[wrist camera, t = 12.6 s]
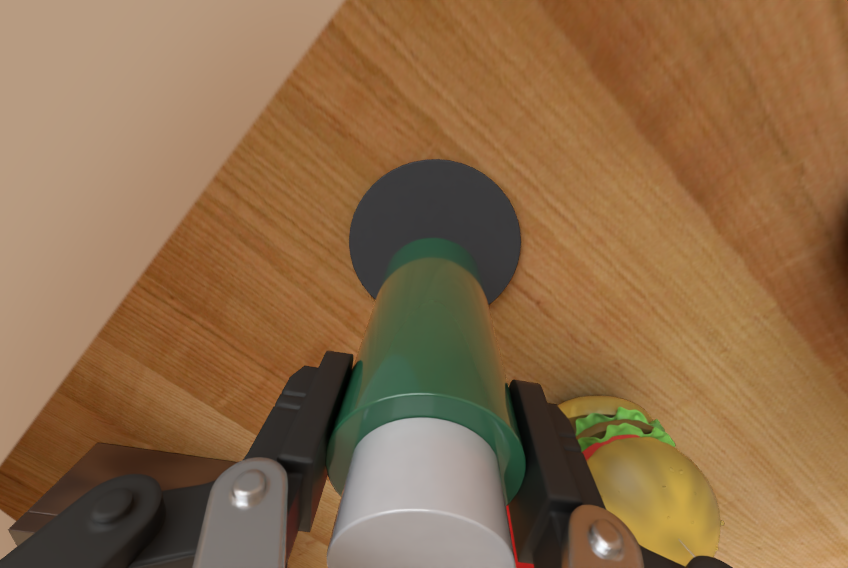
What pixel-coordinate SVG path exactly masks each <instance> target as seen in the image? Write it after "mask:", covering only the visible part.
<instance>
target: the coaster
mask: <svg viewBox="0 0 848 568" xmlns="http://www.w3.org/2000/svg"><path fill="white" fill-rule="evenodd" d="M425 238H441V239H445V240H449V241H452V242H454V243H456V244H458V245H460V246H461V247H463V248H464V249H466V250H467V251H468V252H469V253H470V254H471V255H472V257H473V258H474V259H475V261H476V263H477V265H478V267H479V269H480V273H481V277H482V281H483V285H484V289H485V293H486V297H487V301H488V305H489V304H490V303H491V302H493V301H494V300H495V299H496V298H497V297H498V296H499V295H500V294H501V293H502V292H503V290H504V289H505V288H506V286H507V285H508V283H509V282H510V280H511V278H512V276H513V274H514V272H515V269H516V266H517V264H518V260H519V255H520V246H521V237H520V228H519V223H518V219H517V216H516V214H515V211H514V209H513V207H512V205H511V203H510V201H509V199H508V198H507V197H506V195H505V194H504V193H503V191H502V190H501V189H500V188H499V187H498V186H497V185H496V184H495V183H494V182H493V181H492V180H491V179H490V178H488V177H487V176H486V175H484V174H483V173H481V172H480V171H478V170H476V169H474V168H472V167H470V166H467V165H465V164H462V163H458V162H454V161H450V160H440V159H432V160H421V161H416V162H412V163H408V164H405V165H402V166H400V167H398V168H396V169H394V170H392V171H390V172H389V173H387V174H386V175H384V176H383V177H381V178H380V179H379V180H378V181H377V182H376V183H375V184H373V185H372V187H371V188H370V189H369V190H368V191H367V192H366V194H365V195H364V196H363V198H362V200H361V201H360V203H359V204H358V207H357V209H356V211H355V213H354V216H353V219H352V223H351V228H350V235H349V247H350V255H351V259H352V263H353V267H354V269H355V271H356V274H357V276H358V278H359V280H360V281H361V283H362V285H363V286H364V287H365V289H366V290H367V291H368V293H369V294H370V295H371V296H372V297H373V298H374V299H375V300H376V298H377V295H378V292H379V289H380V286H381V283H382V280H383V277H384V274H385V271H386V268H387V266H388V264H389V262H390V260H391V258H392V257H393V256H394V255H395V253H396V252H397V251H398V250H400V249H401V248H402V247H404V246H405V245H407V244H409V243H411V242H413V241H416V240H419V239H425Z"/></svg>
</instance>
